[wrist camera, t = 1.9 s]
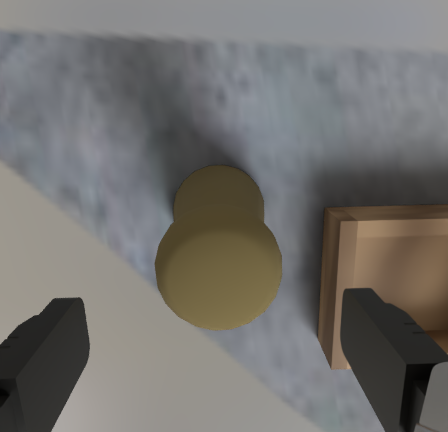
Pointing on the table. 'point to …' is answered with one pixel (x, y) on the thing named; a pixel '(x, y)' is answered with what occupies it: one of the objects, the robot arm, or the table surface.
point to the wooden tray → (385, 267)
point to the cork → (218, 251)
